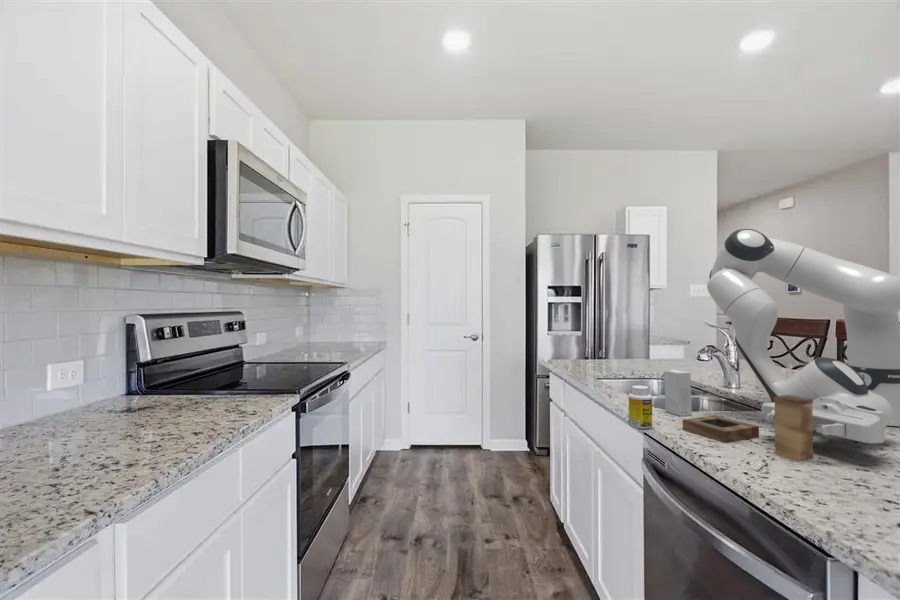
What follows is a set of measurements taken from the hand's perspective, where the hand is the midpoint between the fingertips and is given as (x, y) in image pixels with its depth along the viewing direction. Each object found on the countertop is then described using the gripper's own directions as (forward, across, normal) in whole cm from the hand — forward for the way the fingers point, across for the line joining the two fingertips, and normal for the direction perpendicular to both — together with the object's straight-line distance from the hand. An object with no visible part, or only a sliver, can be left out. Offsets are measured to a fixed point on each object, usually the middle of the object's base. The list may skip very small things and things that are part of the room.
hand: (793, 424), depth 92 cm
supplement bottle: (+12, -29, +7) cm, 32 cm away
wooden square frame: (-1, -17, +7) cm, 18 cm away
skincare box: (-8, -35, +7) cm, 36 cm away
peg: (0, 0, +6) cm, 7 cm away
